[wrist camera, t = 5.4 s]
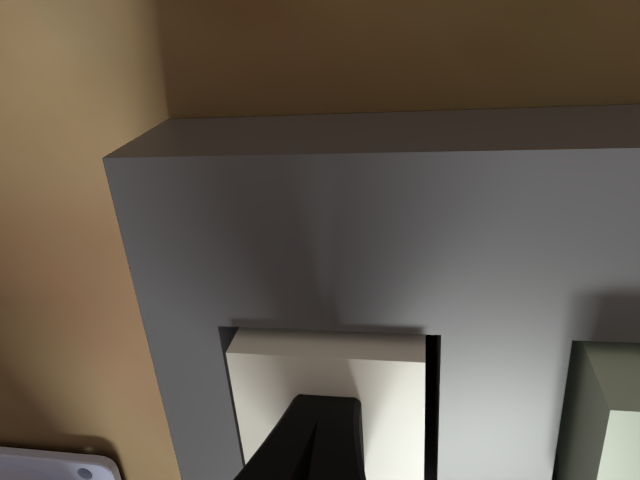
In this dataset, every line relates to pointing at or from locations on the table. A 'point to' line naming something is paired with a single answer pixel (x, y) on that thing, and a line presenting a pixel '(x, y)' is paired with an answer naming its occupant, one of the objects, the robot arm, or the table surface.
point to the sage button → (600, 413)
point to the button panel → (388, 260)
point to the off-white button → (336, 388)
